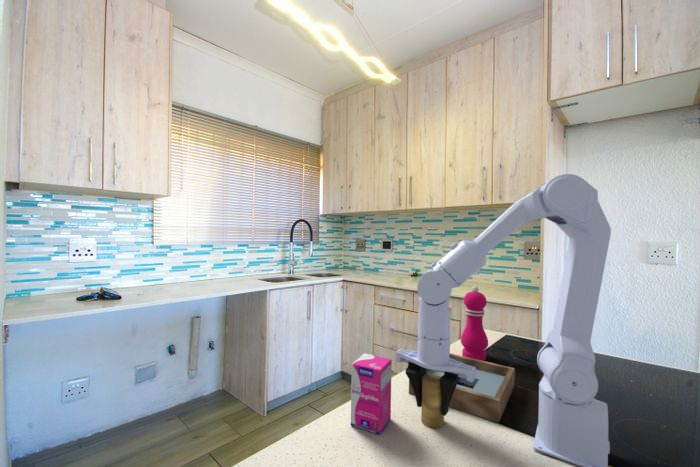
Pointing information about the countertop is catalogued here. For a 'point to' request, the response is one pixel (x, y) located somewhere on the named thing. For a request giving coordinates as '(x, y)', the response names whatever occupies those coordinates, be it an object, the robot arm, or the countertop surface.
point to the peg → (431, 401)
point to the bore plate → (480, 382)
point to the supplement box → (371, 393)
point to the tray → (477, 401)
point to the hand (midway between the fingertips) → (432, 408)
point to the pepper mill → (474, 326)
